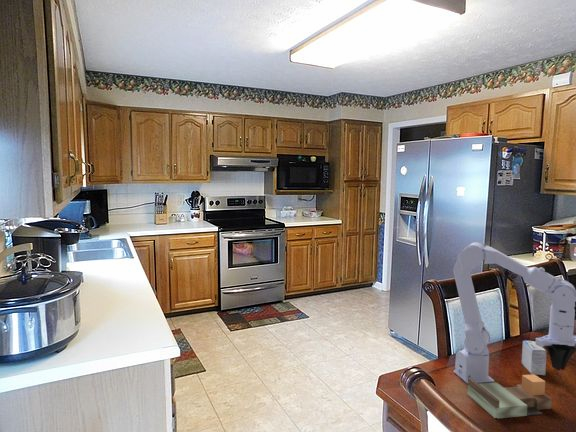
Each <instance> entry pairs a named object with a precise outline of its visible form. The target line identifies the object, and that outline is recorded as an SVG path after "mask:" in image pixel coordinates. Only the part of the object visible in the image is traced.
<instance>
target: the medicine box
mask: <svg viewBox="0 0 576 432" xmlns="http://www.w3.org/2000/svg"><path fill="white" fill-rule="evenodd" d="M535 342H536V340H535V341H533V340H523V341H522V349H521V351H522V352H521V365H523V367H524V368H525V369H526V370H527V371H528V372H529V373H530V375H532V374H534V375H536V376H546V365H547V349H546V348H544V347H540V346H538V345H536V344H535Z"/></svg>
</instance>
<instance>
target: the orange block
mask: <svg viewBox="0 0 576 432" xmlns="http://www.w3.org/2000/svg"><path fill="white" fill-rule="evenodd" d="M521 384H522V385H521V388H522V389H523V390H525V391H526V392H527V393H529V394H530V395H532V396H535V395H544V394H546V380H545V379H542V378H540V377H539V375H534V374H522V375H521Z"/></svg>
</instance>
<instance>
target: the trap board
mask: <svg viewBox="0 0 576 432" xmlns="http://www.w3.org/2000/svg"><path fill="white" fill-rule="evenodd" d="M521 385H522V383H519V384H516V385H515V386H509V387H508V386H507V387H506V386H505V387H504V386H502V385H501V384H500V383H498V382H495V381H494V382H485V383H477V382H476V381H475V380H473V379H472V378H468V383H467V395H468V396H469V397H470V398H471V399H472V400H473V401H475V403H477V404H478V405H479V406H480V407H481V408H483V409H484V411H486V412H487V413H488V414H489V415H491V416H492V418H494V419H495V418H497V419H505V418H517V417H525V416H526V417H527V416H537V415H544V413H543V412H542V411H541V410H551V409H552V403H553V398H552V397H550V396H549V395H547V394H546V393H545V394H544V395H535V396H532V395H530V394H529V393H527V392H526V391H525V390H523V389H522V388H521Z"/></svg>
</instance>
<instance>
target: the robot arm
mask: <svg viewBox="0 0 576 432" xmlns="http://www.w3.org/2000/svg"><path fill="white" fill-rule="evenodd" d="M483 261H484V262H483ZM482 262H483V264H484V265H489V264H490V265H492V264H493V265H494V264H495V265H498V266H500V267H502V268H503V269H507V270H508V271H509V272H512V273H514V274H516V275H518V276H520V277H522V279H523V282H524V284H527V285H528V286H530V287H532V288H534V289H535V290H537V291H539V292H541V293H543V294H544V295H547V296H550V297H551V298H552V299H551V305H550V307H549V308H550V311H549V322H548V323H549V325H548V334H547V335H543V336H541V337H535V341H536V342H535V344H536V345H538V346H540V347H543V348H544V347H545V350H546V352H548V354H549V358H550V361H551V367H552V368H553V369H555V370H556V371H561V370H562V371H565V370H566V367H567V365H568V363H569V360H570V359H571V358H572V356H573V355H574V353H576V347H575V346H576V335H575V334H574V327H575V316H576V313H575V312H576V309H575V307H576V287H575V286H574V285H573V284H572V283H570V282H569V281H568V280H566V279H563V278H562V277H559V276H558V277H556V276H554V275H552V274H550V273H549V272H546V270H545V268H544V267H542V266H540V267H537V266H532V267H531V266H530V267H528V266H526V265H525V264H522V263H521V262H519V261H517V260H516V259H514V258H511V257H510V256H509V255H507V254H506V253H503V252H501V251H499V250H498V249H496V248H495V247H491V246H489V245H485V244H484V243H482V242H480V241H474V242H471V243H470V244H469V245H467V246H465V247H464V248H463V249H462V250H461V251H460V252H459V253H458V255H457V258H456V262H455V263H454V265H453V268H452V272H453V277H454V280H455V284H456V285H455V286H456V289H457V294H458V297H459V303H460V307H461V311H462V315H463V319H464V334H465V338H464V342H463V343H464V348H463V349H462V350H459V351H457V352H456V354H455V361H454V362H455V364H454V370H453V373H454V374H456V375H457V376H458V377H459V378H460V379H461V380H463V381H464V382H465V383H466V384H468V378H472V379H473V380H475V381H476V382H477V383H478V384H481V383H494V382H495V379H493V378H492V377H490V376H489V364H490V350H489V349H488V344H489V343H490V341H491V335H490V332H489V331H488V330H487V329H486V326H485V324H484V321H483V320H482V316H481V312H480V309H479V304H478V301H477V300H478V299H477V296H476V292H475V287H474V283H473V280H472V279H473V278H472V275H471V272H472V271H473V269H474V268H475V267H476V266H478V265H479V264H481V263H482Z"/></svg>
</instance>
